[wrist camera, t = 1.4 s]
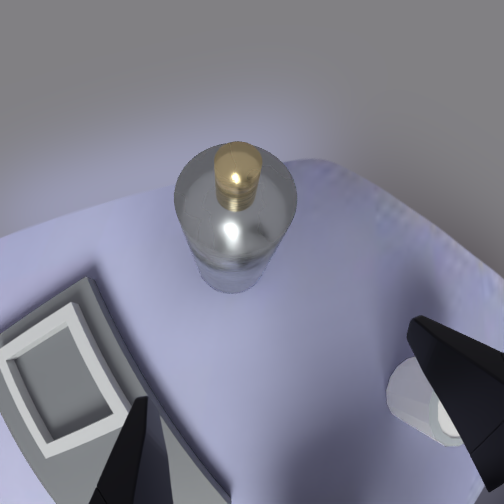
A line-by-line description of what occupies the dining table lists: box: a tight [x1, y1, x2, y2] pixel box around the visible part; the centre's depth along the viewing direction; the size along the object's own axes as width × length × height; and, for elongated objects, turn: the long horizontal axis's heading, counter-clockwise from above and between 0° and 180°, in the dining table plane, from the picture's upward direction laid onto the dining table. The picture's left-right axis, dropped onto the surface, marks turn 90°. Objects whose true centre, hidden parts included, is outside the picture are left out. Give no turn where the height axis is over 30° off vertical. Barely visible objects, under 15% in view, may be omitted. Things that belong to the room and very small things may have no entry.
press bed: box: [0, 276, 231, 504], centre depth 17 cm, size 20×14×3 cm
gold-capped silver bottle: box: [174, 141, 297, 294], centre depth 17 cm, size 5×5×14 cm
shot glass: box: [386, 357, 464, 446], centre depth 18 cm, size 7×7×7 cm
